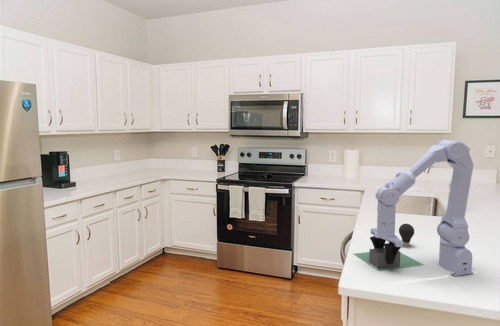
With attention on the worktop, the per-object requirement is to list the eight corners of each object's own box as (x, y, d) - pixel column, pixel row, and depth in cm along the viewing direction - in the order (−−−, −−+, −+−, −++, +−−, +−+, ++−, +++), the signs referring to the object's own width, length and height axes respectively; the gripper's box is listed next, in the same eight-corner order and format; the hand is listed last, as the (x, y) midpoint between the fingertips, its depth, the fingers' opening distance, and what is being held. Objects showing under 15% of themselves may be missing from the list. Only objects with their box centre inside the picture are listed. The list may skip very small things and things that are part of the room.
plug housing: (399, 265, 118) (400, 251, 118) (377, 268, 116) (378, 254, 116) (390, 260, 123) (391, 246, 123) (369, 262, 121) (369, 249, 120)
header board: (424, 267, 119) (424, 256, 119) (378, 273, 115) (379, 262, 114) (393, 251, 135) (394, 241, 134) (352, 256, 130) (353, 246, 130)
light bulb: (409, 245, 141) (410, 221, 140) (416, 250, 136) (417, 225, 134) (395, 245, 141) (396, 222, 140) (402, 250, 135) (403, 226, 134)
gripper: (363, 217, 124) (362, 253, 125) (389, 228, 110) (388, 269, 111) (380, 215, 126) (379, 251, 127) (408, 227, 112) (406, 267, 113)
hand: (384, 260), depth 119 cm, fingers open, 5 cm apart
